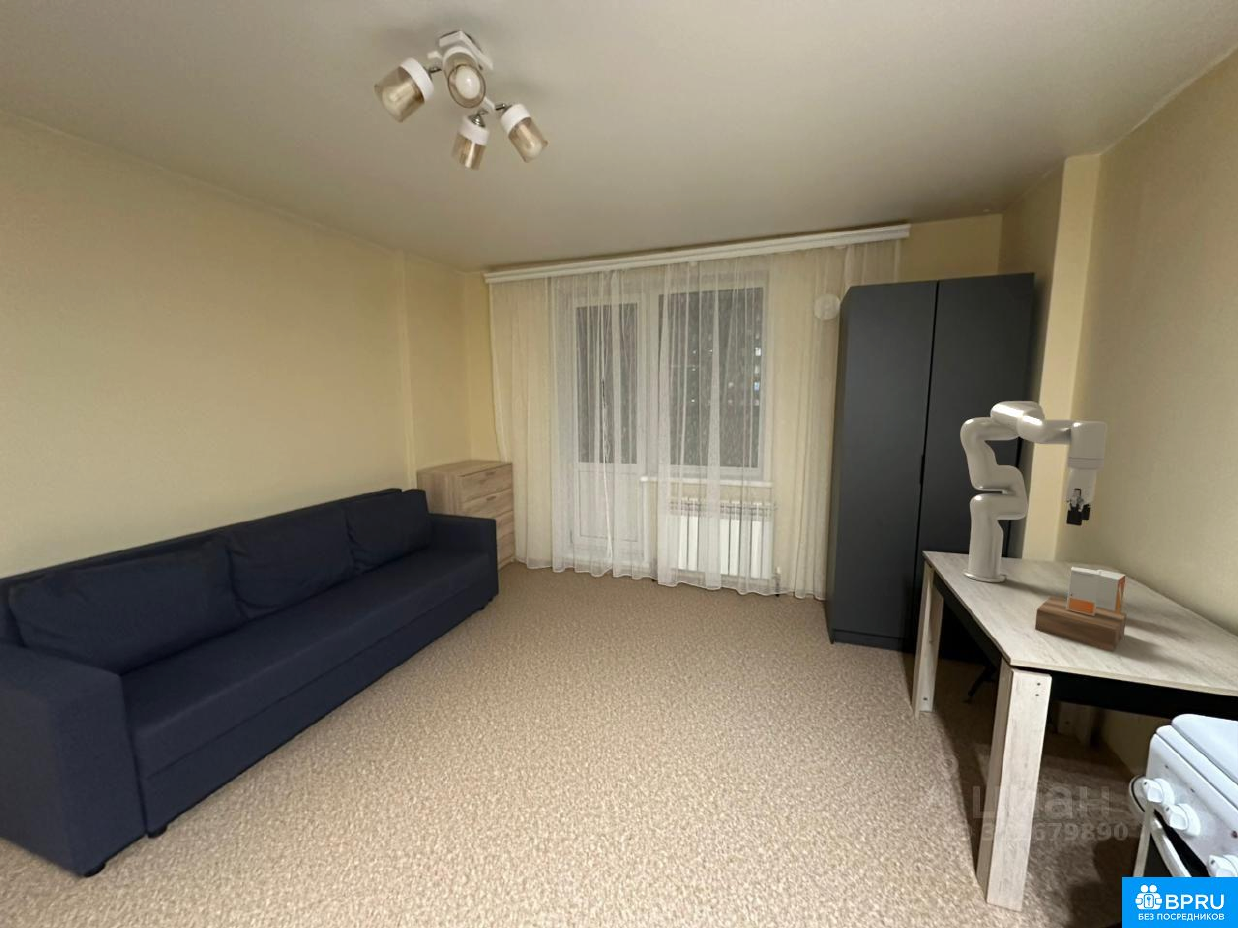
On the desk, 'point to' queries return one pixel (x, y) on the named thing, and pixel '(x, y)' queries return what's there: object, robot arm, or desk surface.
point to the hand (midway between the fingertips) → (1077, 522)
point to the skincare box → (1083, 590)
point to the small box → (1110, 590)
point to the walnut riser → (1081, 624)
